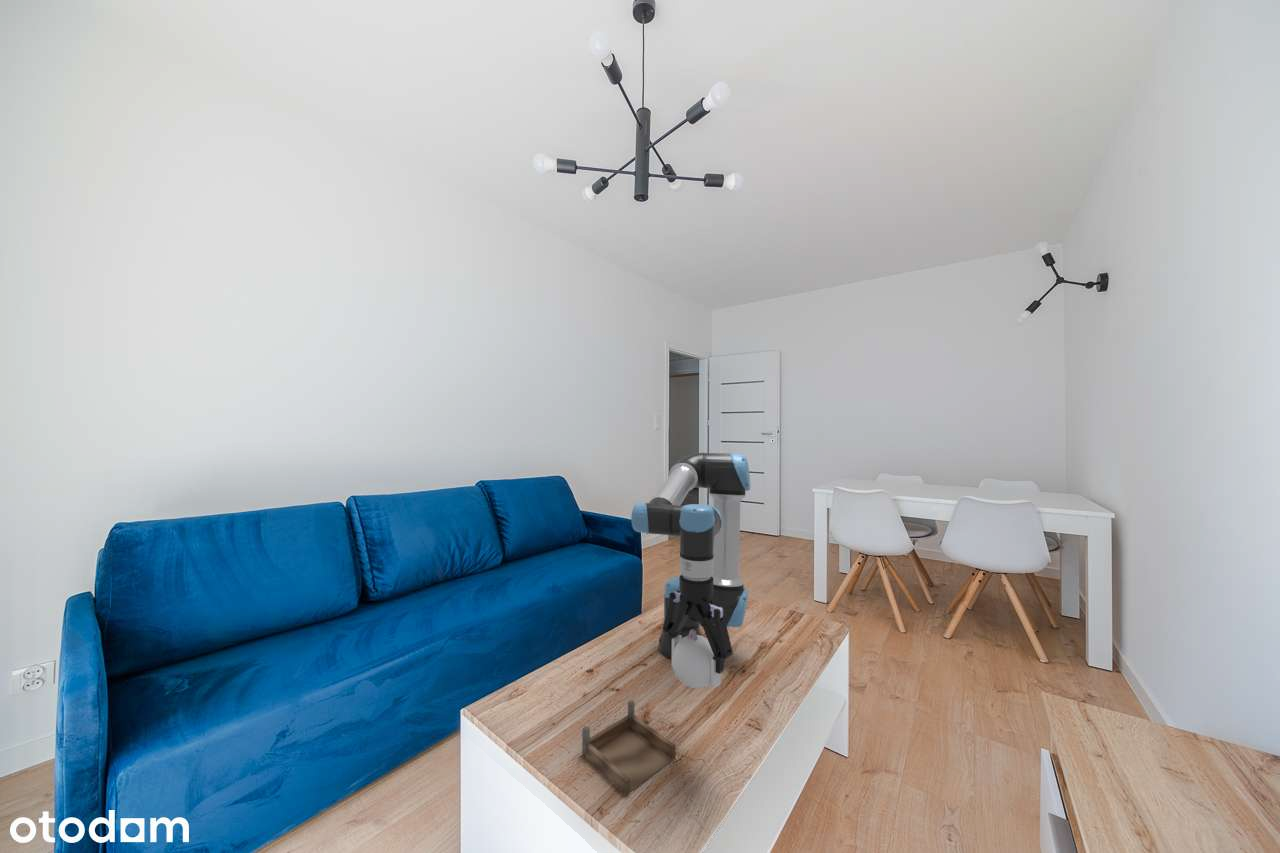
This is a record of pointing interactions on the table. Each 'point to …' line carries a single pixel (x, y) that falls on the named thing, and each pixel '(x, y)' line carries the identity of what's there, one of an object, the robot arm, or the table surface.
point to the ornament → (693, 660)
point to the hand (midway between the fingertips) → (695, 675)
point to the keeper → (628, 751)
